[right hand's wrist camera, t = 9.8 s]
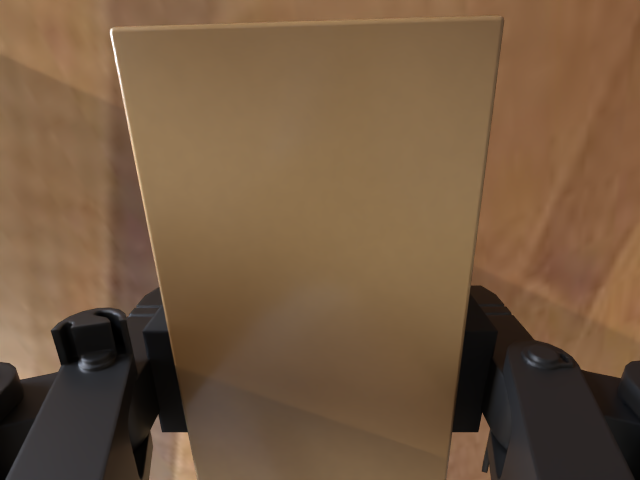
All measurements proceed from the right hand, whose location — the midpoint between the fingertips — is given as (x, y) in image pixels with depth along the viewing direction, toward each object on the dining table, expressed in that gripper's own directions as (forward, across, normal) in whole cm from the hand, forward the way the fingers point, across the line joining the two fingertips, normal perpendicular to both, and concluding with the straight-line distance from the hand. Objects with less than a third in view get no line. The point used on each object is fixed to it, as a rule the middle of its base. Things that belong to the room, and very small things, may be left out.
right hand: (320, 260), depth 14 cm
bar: (+1, +1, -27) cm, 27 cm away
